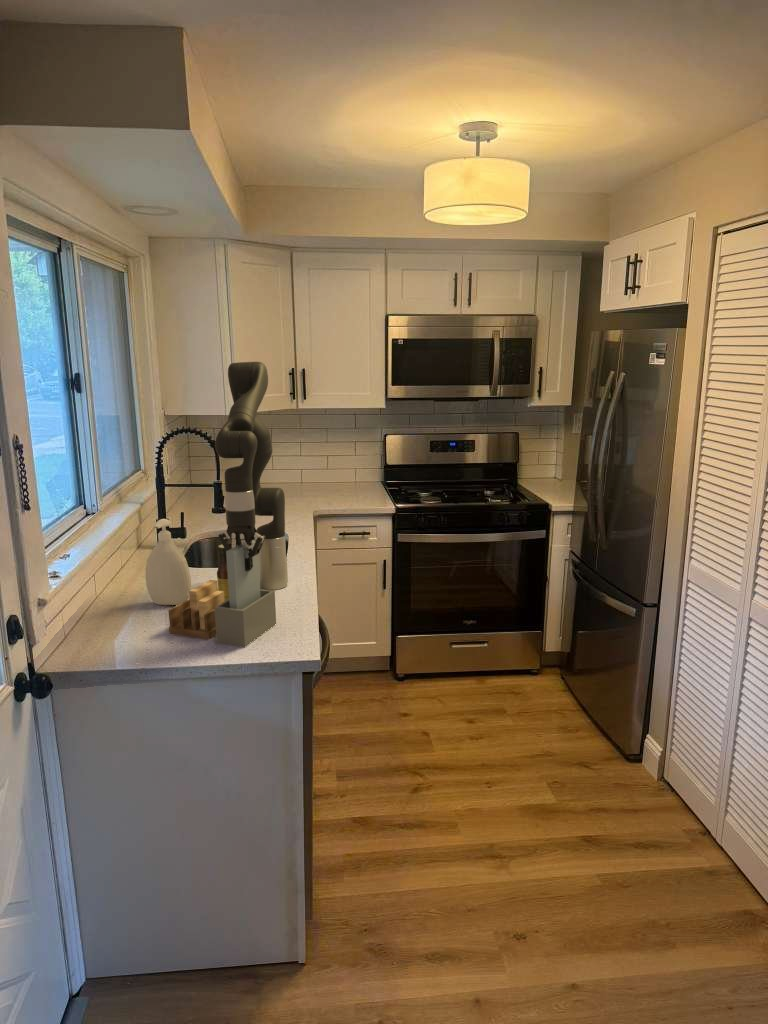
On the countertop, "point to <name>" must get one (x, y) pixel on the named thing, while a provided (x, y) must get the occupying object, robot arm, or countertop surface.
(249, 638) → the bin
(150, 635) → the countertop surface
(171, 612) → the rack
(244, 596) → the tall sheet
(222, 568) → the sauce bottle
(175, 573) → the soap bottle
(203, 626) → the beech offcut
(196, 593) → the oak offcut
